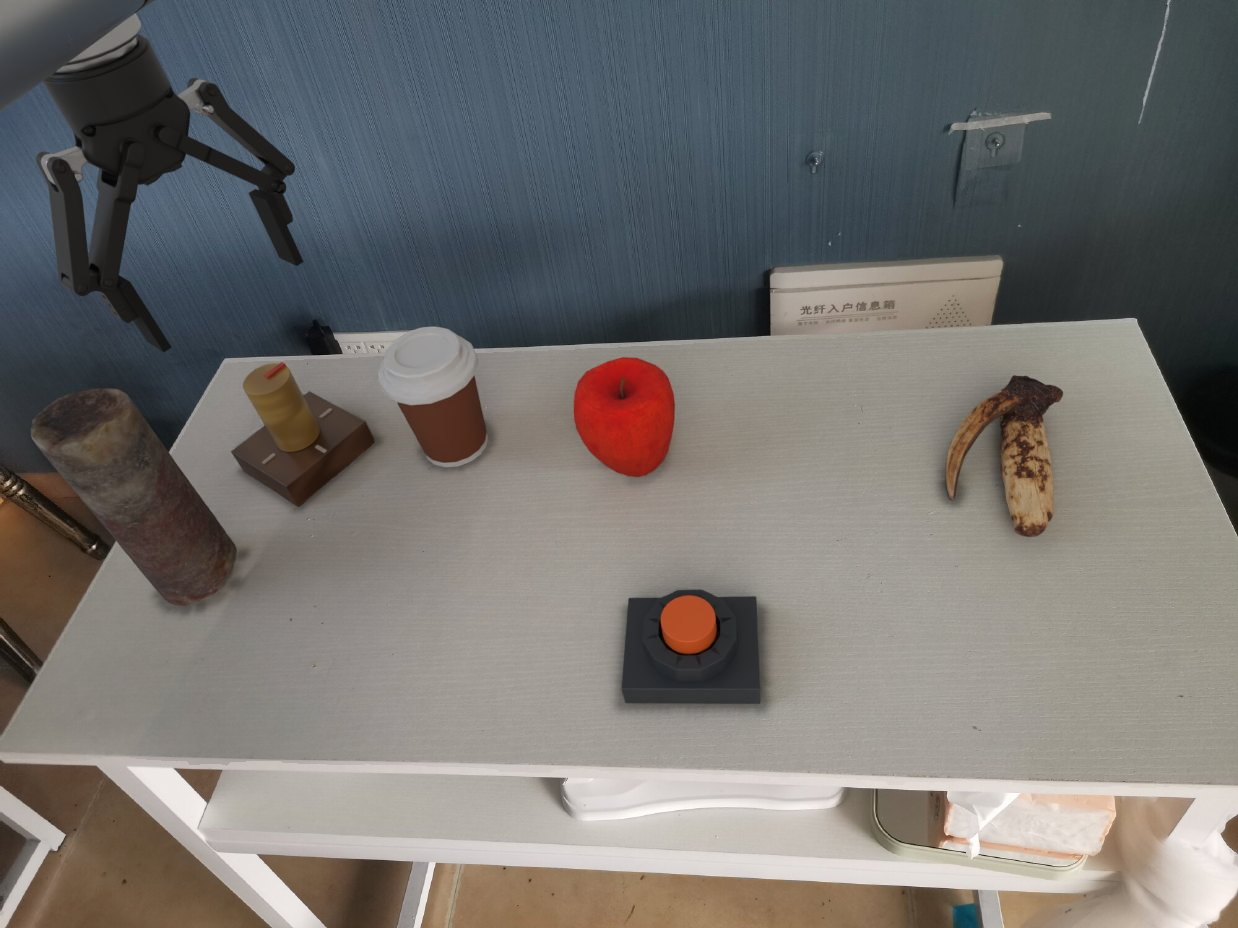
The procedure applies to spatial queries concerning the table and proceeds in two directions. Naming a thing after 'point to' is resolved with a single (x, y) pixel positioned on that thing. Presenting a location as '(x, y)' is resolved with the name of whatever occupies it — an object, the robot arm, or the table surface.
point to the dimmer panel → (306, 453)
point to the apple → (626, 415)
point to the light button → (688, 624)
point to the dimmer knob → (281, 407)
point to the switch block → (692, 655)
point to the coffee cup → (437, 393)
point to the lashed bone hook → (1014, 450)
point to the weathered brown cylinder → (136, 492)
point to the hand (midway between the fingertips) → (228, 301)
